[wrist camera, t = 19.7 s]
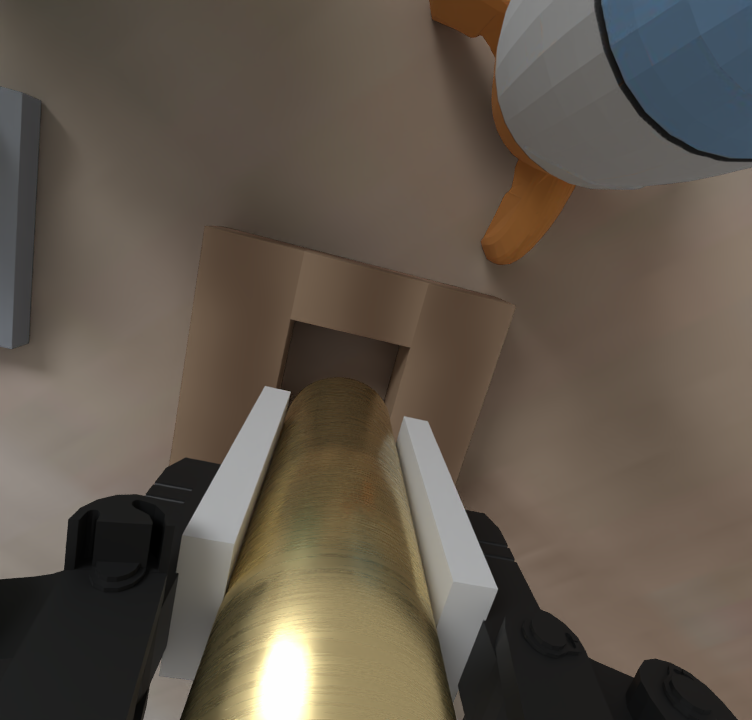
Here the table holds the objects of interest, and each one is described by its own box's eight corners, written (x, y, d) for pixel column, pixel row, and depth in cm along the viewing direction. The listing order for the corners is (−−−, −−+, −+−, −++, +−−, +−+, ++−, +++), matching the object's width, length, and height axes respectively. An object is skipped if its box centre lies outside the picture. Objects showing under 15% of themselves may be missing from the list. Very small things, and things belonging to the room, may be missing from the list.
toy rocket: (511, 288, 21) (650, 389, 6) (355, 114, 20) (103, -228, 5) (717, 112, 18) (1887, -471, 3) (543, -102, 17) (1071, -2093, 2)
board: (162, 611, 23) (141, 655, 21) (223, 226, 18) (204, 225, 16) (382, 643, 25) (386, 687, 22) (495, 296, 20) (516, 305, 17)
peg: (276, 462, 15) (28, 1239, 3) (297, 366, 14) (58, 970, 3) (376, 482, 15) (456, 1230, 4) (402, 390, 14) (609, 1001, 3)
